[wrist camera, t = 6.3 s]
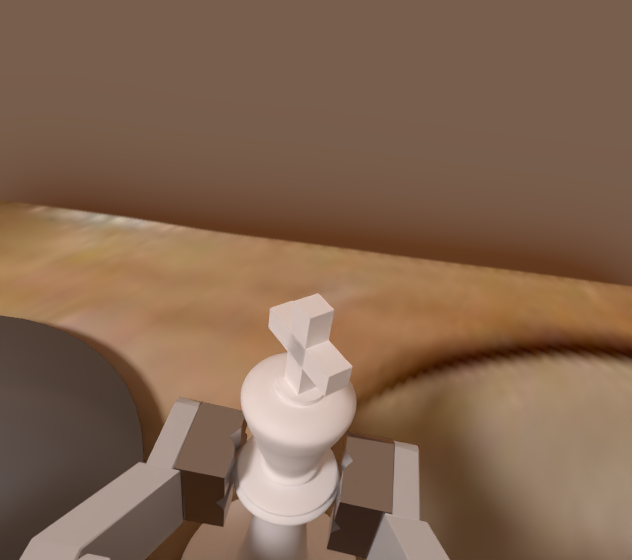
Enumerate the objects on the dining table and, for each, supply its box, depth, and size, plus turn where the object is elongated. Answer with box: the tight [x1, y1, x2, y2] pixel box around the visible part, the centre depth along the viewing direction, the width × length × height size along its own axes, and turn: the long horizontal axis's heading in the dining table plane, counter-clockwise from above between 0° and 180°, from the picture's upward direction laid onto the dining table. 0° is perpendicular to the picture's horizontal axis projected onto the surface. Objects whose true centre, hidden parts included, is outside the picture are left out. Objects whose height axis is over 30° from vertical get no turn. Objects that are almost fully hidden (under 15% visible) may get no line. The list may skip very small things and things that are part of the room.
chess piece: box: [181, 293, 356, 560], centre depth 11 cm, size 5×5×10 cm
